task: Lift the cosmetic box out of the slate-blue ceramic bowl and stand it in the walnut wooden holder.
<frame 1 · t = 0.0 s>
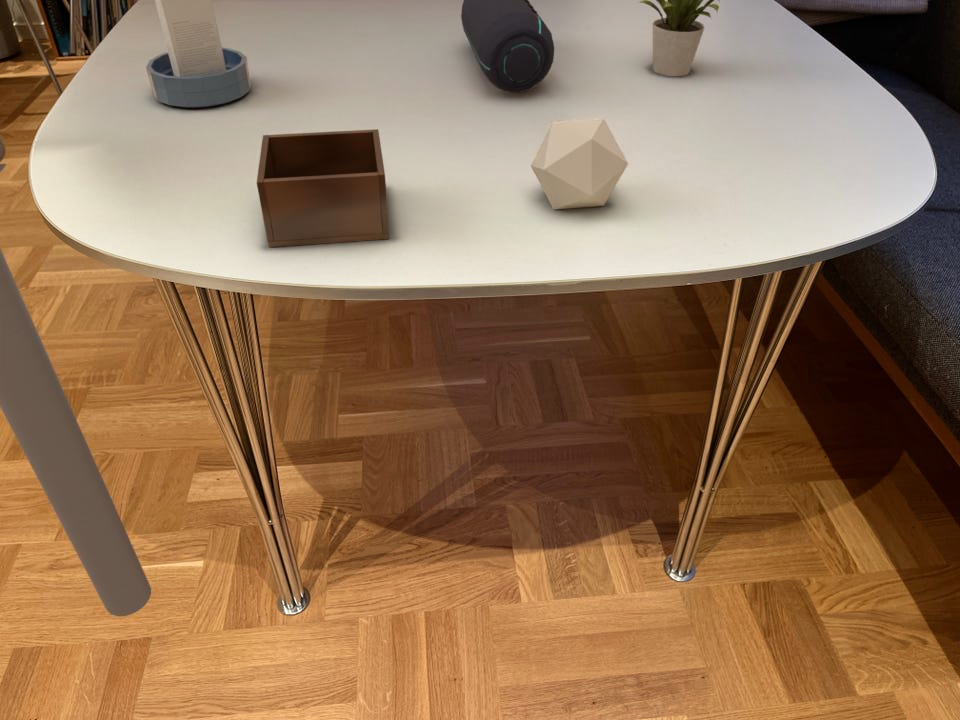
die: (574, 202, 79), on the table
holder: (329, 216, 76), on the table
bowl: (203, 92, 101), on the table
cosmetic box: (203, 91, 101), resting on bowl
portable speaker: (503, 70, 110), on the table
house plant: (680, 72, 110), on the table
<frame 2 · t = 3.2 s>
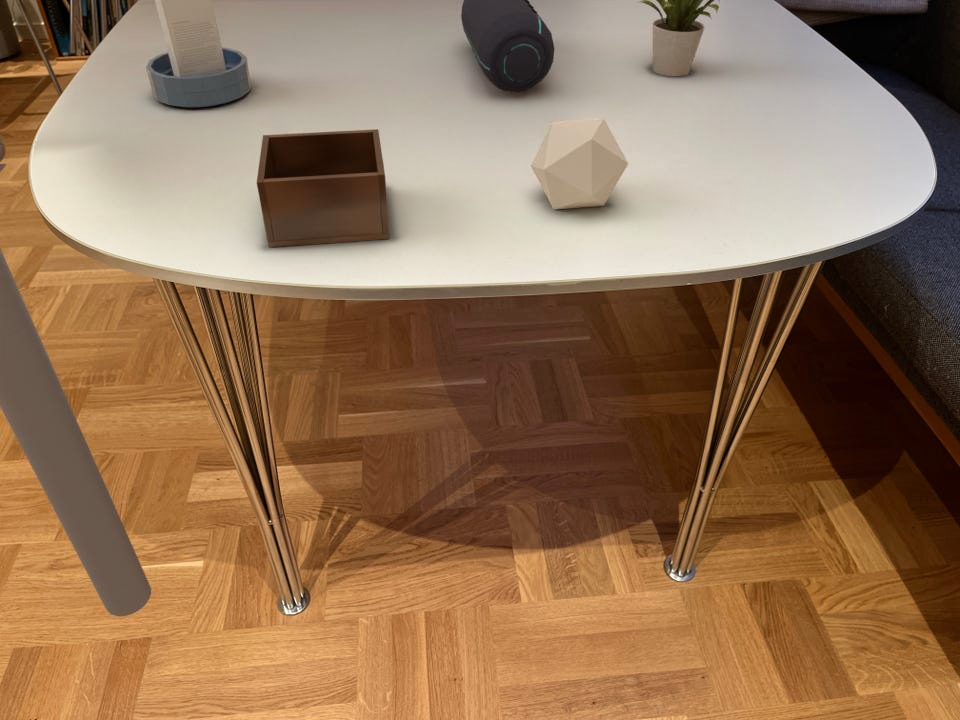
nothing on the table moved.
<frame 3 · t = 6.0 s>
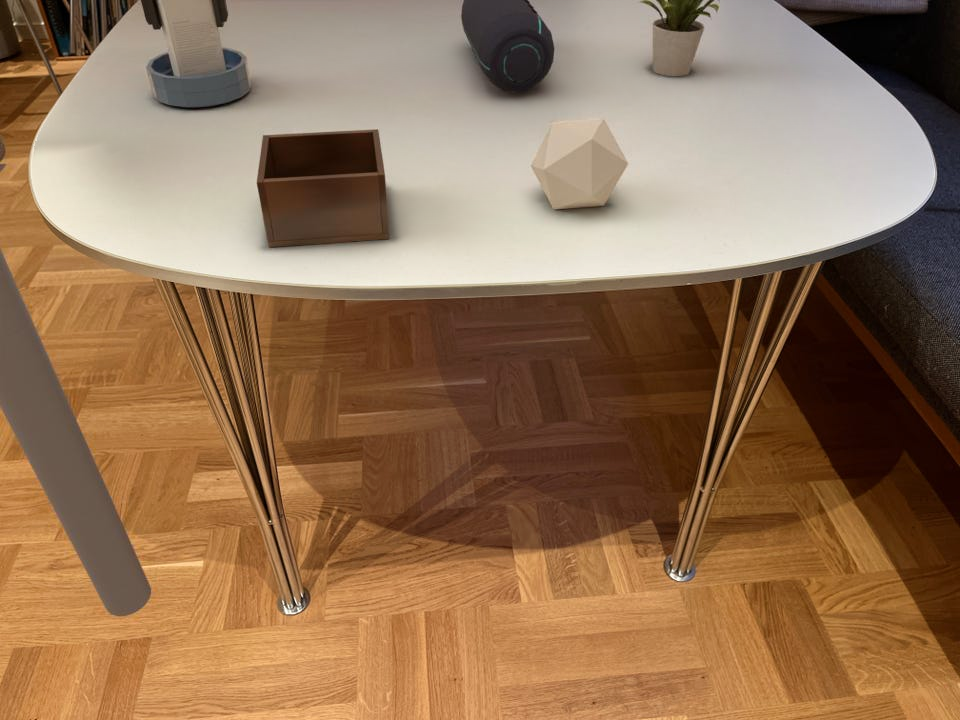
hand: (189, 26, 96), 8 cm above the table, tool pointing down, fingers closed on cosmetic box, 7 cm apart
cosmetic box: (203, 90, 101), resting on bowl, touching gripper
everything else where it was.
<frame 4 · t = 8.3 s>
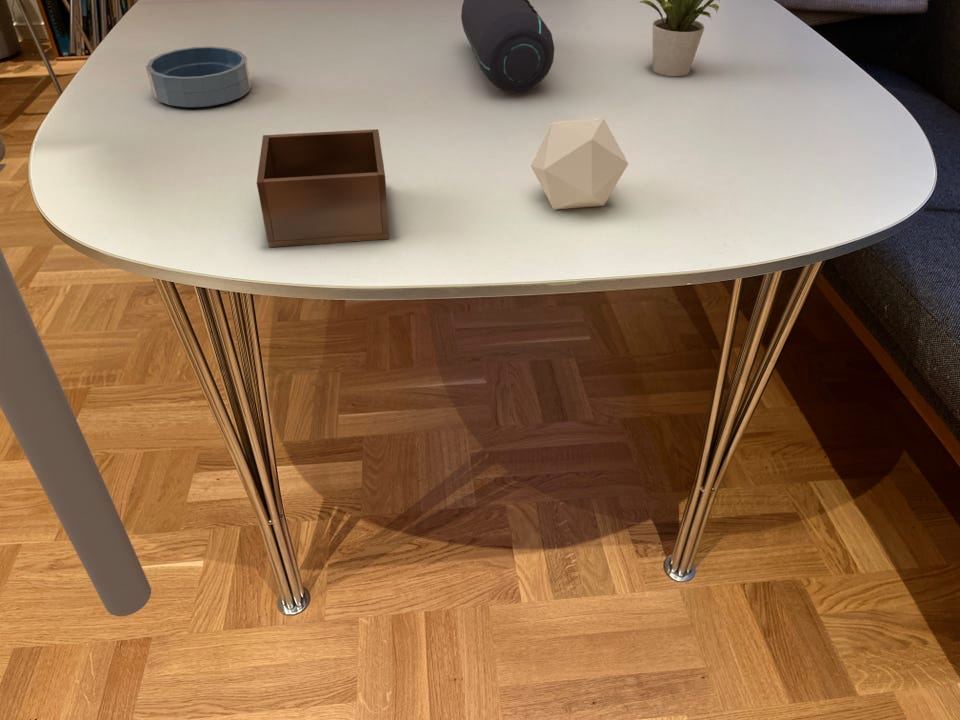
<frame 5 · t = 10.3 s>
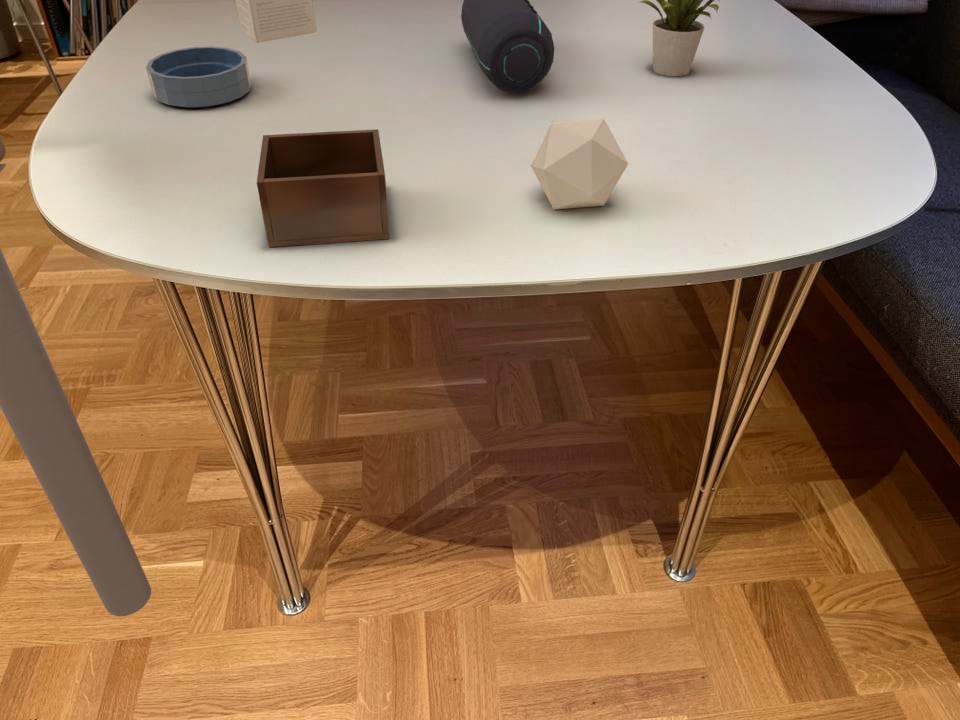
cosmetic box: (278, 35, 72), point 15 cm above the table, touching gripper
everything else where it was.
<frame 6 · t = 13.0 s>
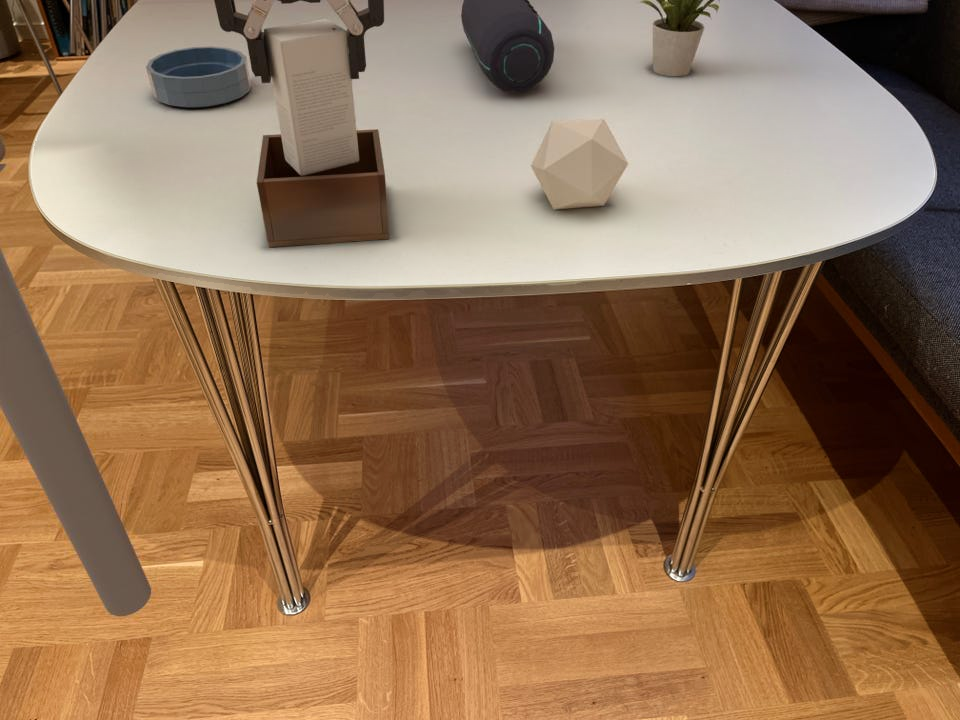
hand: (310, 77, 67), 14 cm above the table, tool pointing down, fingers closed on cosmetic box, 7 cm apart
cosmetic box: (321, 163, 72), point 6 cm above the table, touching gripper
everything else where it was.
when the fingers open (9 cm above the table, at t = 15.0 s): cosmetic box stays where it is, resting on holder.
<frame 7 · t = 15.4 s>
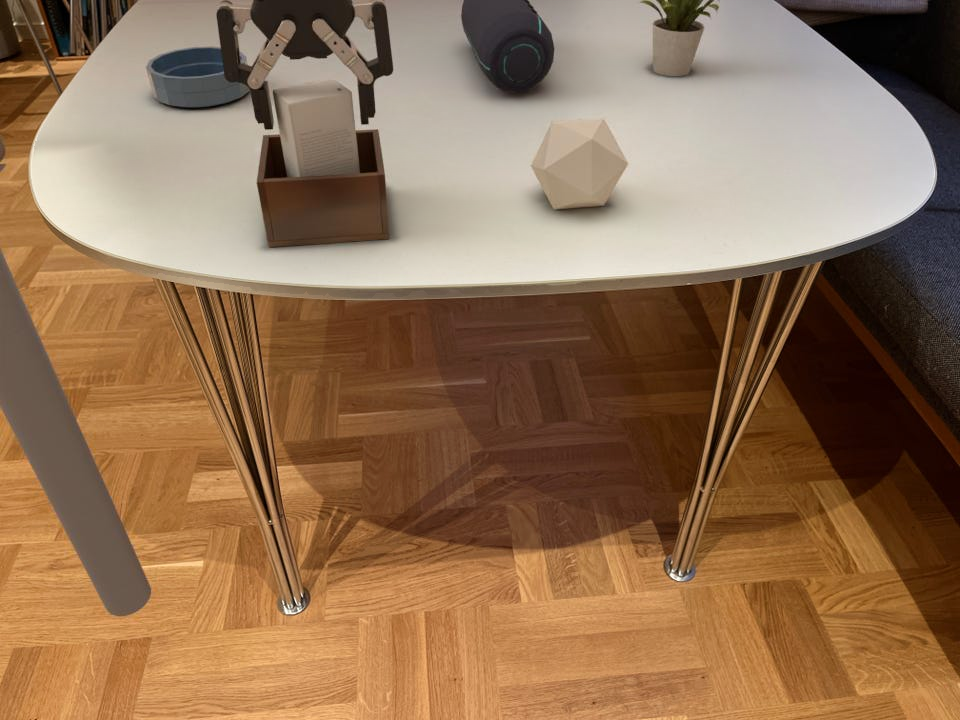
hand: (317, 124, 70), 9 cm above the table, tool pointing down, fingers open, 8 cm apart
cosmetic box: (327, 212, 76), resting on holder
everything else where it was.
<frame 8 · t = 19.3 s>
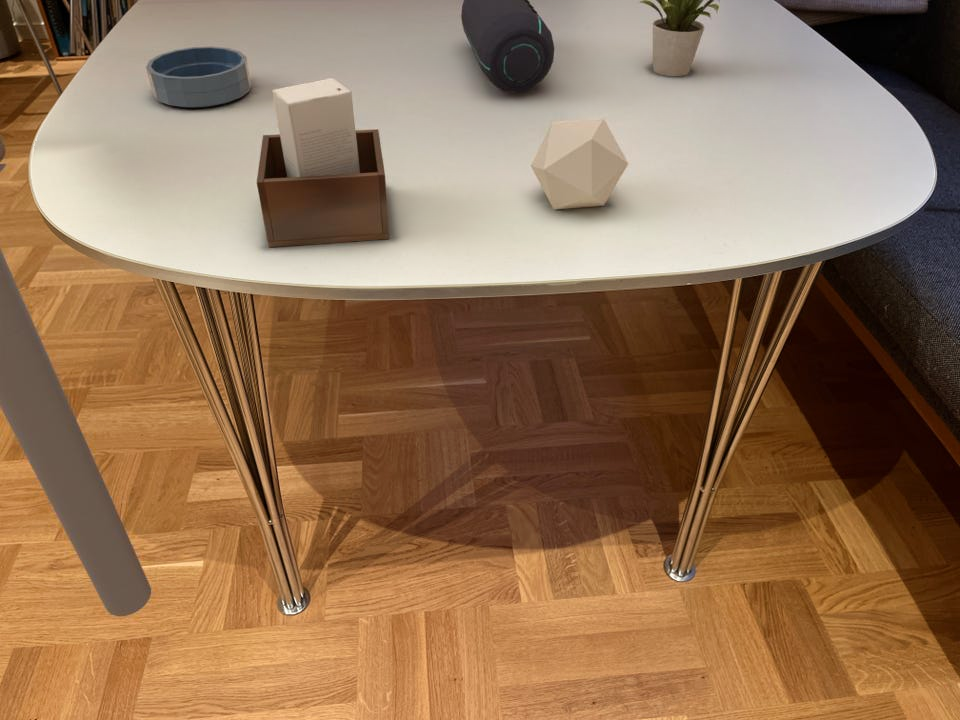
nothing on the table moved.
at the end: cosmetic box inside the target area in the holder (0.1 cm from its centre), point 0.4 cm above the holder's base; cosmetic box tilted 0°; the gripper is holding nothing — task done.
